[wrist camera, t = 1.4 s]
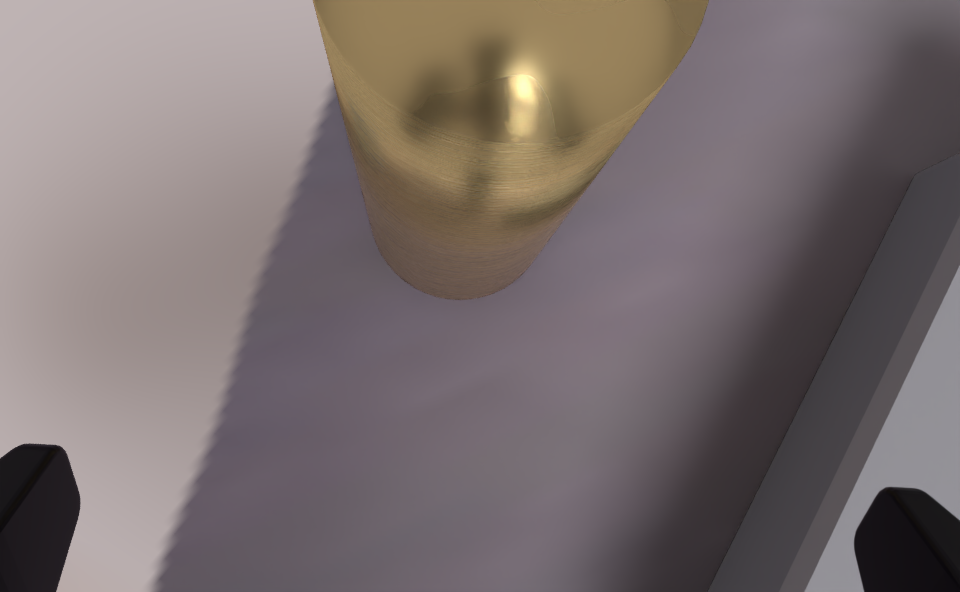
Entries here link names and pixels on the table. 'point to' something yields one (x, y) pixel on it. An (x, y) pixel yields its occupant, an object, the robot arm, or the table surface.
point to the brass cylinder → (490, 119)
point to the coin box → (867, 409)
